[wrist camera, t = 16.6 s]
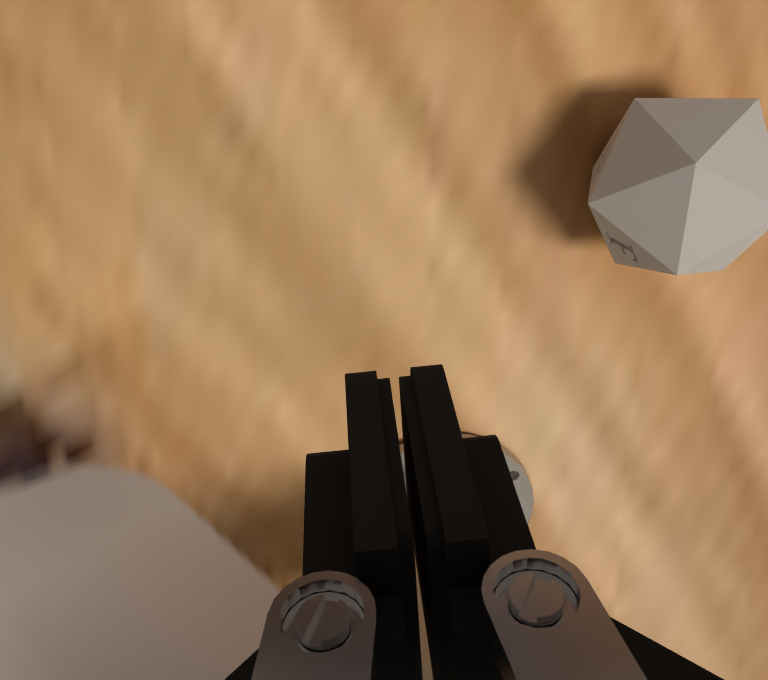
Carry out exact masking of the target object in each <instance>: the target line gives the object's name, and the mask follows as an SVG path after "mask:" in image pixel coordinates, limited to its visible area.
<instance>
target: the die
mask: <svg viewBox="0 0 768 680" xmlns="http://www.w3.org/2000/svg"><path fill="white" fill-rule="evenodd" d="M588 205H589V207H590V210H591V212H592V214H593V216H594V218H595V220H596V223H597V225H598V227H599V229H600V231H601V233H602V236H603V238H604V240H605V242H606V244H607V247H608V249H609V251H610V253H611V255H612V257H613V260H614V262H615V263H617V264H622V265H627V266H632V267H638V268H643V269H648V270H653V271H658V272H663V273H668V274H674V275H683V274H692V273H701V272H711V271H720V270H724V269H725V268H726V267H727V266H728V265H729V264H731V263H732V262H733V261H734V260H735V259H736V258H737V257H738V256H739V255H741V254H742V253H743V252H744V251H745V250H746V249H747V248H748V247H749V246H750V245H752V244H753V243H754V242H755V241H756V240H757V239H758V238H759V237H760V236H762V235H763V234H764V233H765V232H766V231H767V230H768V134H767V130H766V126H765V122H764V117H763V113H762V109H761V105H760V101H759V99H756V98H634V100H633V101H632V103H631V105H630V106H629V108H628V110H627V111H626V113H625V115H624V116H623V118H622V120H621V121H620V123H619V125H618V126H617V128H616V130H615V131H614V133H613V135H612V136H611V138H610V140H609V141H608V143H607V145H606V146H605V148H604V150H603V151H602V153H601V155H600V156H599V158H598V160H597V161H596V163H595V165H594V166H593V170H592V177H591V184H590V191H589V198H588Z"/></svg>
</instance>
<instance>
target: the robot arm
mask: <svg viewBox="0 0 768 680" xmlns="http://www.w3.org/2000/svg"><path fill="white" fill-rule="evenodd" d="M410 375H411V376H404V377H399V386H400V401H401V416H402V431H403V443H402V444H400V445H399V439H398V433H397V426H396V419H395V412H394V406H393V399H392V392H391V385H390V379H389V378H383V379H377V374H376V371H369V372H359V373H348V374H345V386H346V406H347V425H348V444H349V450H340V451H331V452H321V453H311V454H307V456H306V474H305V510H304V546H303V576H302V577H299V578H297V579H296V580H294V581H293V582H291V583H290V584H288V585H287V586H285V587H284V588H283V589H282V590H281V592H280V593H279V594H278V595H277V596H276V597H275V599H274V600H273V603H272V605H271V607H270V609H269V612H268V614H267V618H266V622H265V627H264V630H263V634H262V638H261V642H260V646H259V649H257V650H256V651H255V652H254V653H253V654H252V655H251V656H250V657H249V658H248V659H247V660H246V661H244V662H243V663H242V664H241V665H240V666H239V667H238V668H237V669H236V670H235V671H234V672H233V673H232V674H230V675H229V676H228V677H227V678H226V679H225V680H724V679H722V678H720V677H718V676H716V675H715V674H713V673H711V672H709V671H707V670H706V669H704V668H702V667H700V666H698V665H696V664H695V663H693V662H691V661H689V660H687V659H686V658H684V657H682V656H680V655H678V654H676V653H675V652H673V651H671V650H669V649H667V648H666V647H664V646H662V645H660V644H658V643H656V642H655V641H653V640H651V639H649V638H647V637H646V636H644V635H642V634H640V633H638V632H636V631H635V630H633V629H631V628H629V627H627V626H626V625H624V624H622V623H620V622H618V621H616V620H615V619H613V618H611V617H610V616H609V615H608V613H607V611H606V610H605V608H604V606H603V605H602V603H601V601H600V600H599V598H598V596H597V595H596V593H595V591H594V590H593V588H592V586H591V585H590V583H589V581H588V580H587V578H586V577H585V576H584V575H583V573H582V572H581V571H580V570H579V569H578V567H576V566H575V565H574V564H572V563H571V562H569V561H568V560H566V559H565V558H564V557H561V556H558V555H556V554H553V553H551V552H548V551H541V550H536V548H535V545H534V542H533V539H532V536H531V533H530V530H529V527H528V522H529V520H530V518H531V515H532V510H533V505H534V497H533V489H532V486H531V483H530V480H529V477H528V474H527V472H526V470H525V469H524V467H523V465H522V463H521V462H520V461H519V460H518V459H517V458H516V457H515V455H514V454H513V453H511V452H510V451H509V450H507V449H506V448H504V447H503V446H502V445H500V442H499V440H498V437H497V436H496V435H489V436H479V437H478V436H474V435H470V434H461V431H460V427H459V424H458V420H457V416H456V413H455V409H454V405H453V401H452V398H451V394H450V390H449V387H448V383H447V379H446V376H445V372H444V368H443V365H442V364H440V365H430V366H420V367H411V369H410Z"/></svg>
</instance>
